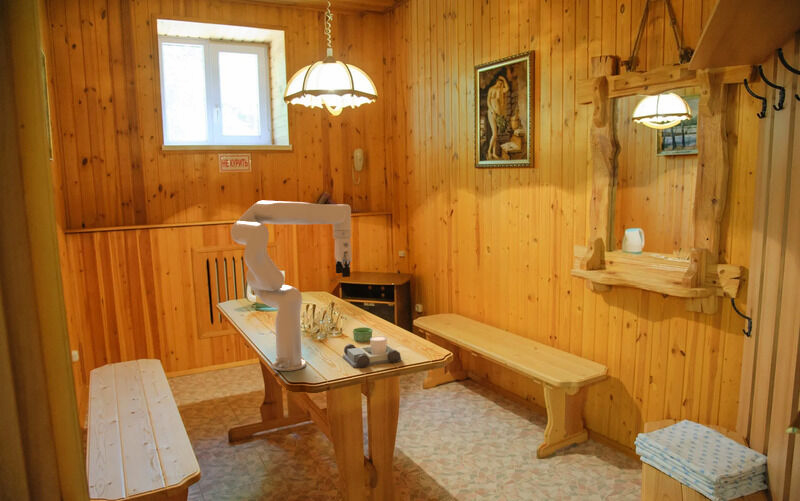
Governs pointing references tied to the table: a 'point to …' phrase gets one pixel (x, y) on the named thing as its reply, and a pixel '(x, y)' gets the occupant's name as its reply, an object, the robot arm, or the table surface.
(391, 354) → the chassis
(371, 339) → the pale pink cup
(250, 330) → the table surface
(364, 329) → the ramekin
